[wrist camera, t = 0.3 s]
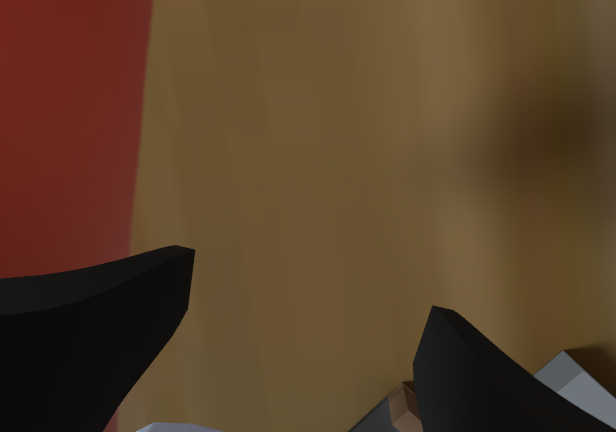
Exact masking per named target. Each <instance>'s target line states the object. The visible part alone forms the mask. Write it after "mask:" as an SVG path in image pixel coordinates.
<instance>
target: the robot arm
mask: <svg viewBox="0 0 616 432" xmlns="http://www.w3.org/2000/svg"><path fill="white" fill-rule="evenodd" d="M194 256H195V250H194V249H190V248H186V247H181V246H177V245H174V246H168V247H163V248H159V249H156V250H152V251H149V252H145V253H142V254H138V255H135V256H131V257H127V258H124V259H120V260H116V261H112V262H108V263H104V264H100V265H96V266H91V267H87V268H82V269H77V270H72V271H65V272H60V273H52V274H45V275H37V276H36V275H35V276H25V277H14V278H2V279H0V432H103V430H104V429H105V427H106V426H107V424H108V422H109V421H110V419H111V417H112V416H113V414H114V413H115V411H116V410H117V408H118V406H119V405H120V404H121V402H122V401H123V399H124V398H125V397H126V395H127V394H128V392H129V391H130V390H131V389H132V387H133V386H134V385H135V383H136V382H137V381H138V380H139V378H140V377H141V376H142V375H143V373H144V372H145V371H146V369H147V368H148V367H149V366H150V364H151V363H152V362H153V360H154V359H155V358H156V357H157V355H158V354H159V353H160V351H161V350H162V349H163V348H164V346H165V345H166V344H167V342H168V341H169V340H170V338H171V337H172V336H173V334H174V333H175V331H176V329H177V327H178V326H179V324H180V322H181V320H182V319H183V317H184V315H185V313H186V311H187V310H188V304H189V296H190V288H191V280H192V272H193V264H194ZM413 373H414V387H415V396H416V401H417V405H418V410H419V415H420V419H421V424H422V428H423V432H616V429H615V428H613V427H611V426H609V425H608V424H606V423H604V422H603V421H601V420H599V419H598V418H596V417H594V416H592V415H591V414H589V413H587V412H586V411H584V410H582V409H581V408H579V407H578V406H576V405H574V404H573V403H571V402H570V401H568V400H567V399H565V398H564V397H562V396H561V395H559V394H558V393H556V392H555V391H554V390H552V389H551V388H549V387H548V386H546V385H545V384H543V383H542V382H541V381H539V380H538V379H537V378H535V377H534V376H533V375H531V374H530V373H529V372H527V371H526V370H525V369H524V368H522V367H521V366H520V365H519V364H517V363H516V362H515V361H513V360H512V359H511V358H510V357H509V356H507V355H506V354H505V353H504V352H503V351H501V350H500V349H499V348H498V347H497V346H496V345H495V344H493V343H492V342H491V341H490V340H489V339H488V338H486V337H485V336H484V335H483V334H482V333H481V332H480V331H479V330H477V329H476V328H475V327H474V326H473V325H472V324H471V323H469V322H468V321H467V320H466V319H465V318H463V317H462V316H461V315H460V314H458V313H457V312H455V311H454V310H450V309H446V308H442V307H437V306H433V305H432V308H431V311H430V314H429V317H428V320H427V323H426V326H425V329H424V332H423V335H422V338H421V341H420V344H419V346H418V349H417V352H416V355H415V358H414V361H413ZM136 432H224V431H220V430H216V429H212V428H208V427H205V426H201V425H197V424H184V423H152V424H150V425H148V426H146V427H144V428H142V429H140V430H138V431H136Z"/></svg>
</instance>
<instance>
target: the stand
mask: <svg viewBox="0 0 616 432" xmlns="http://www.w3.org/2000/svg"><path fill="white" fill-rule="evenodd" d="M533 376H534V377H535V378H537V379H538V380H539V381H541V382H542V383H543V384H545V385H546V386H548V387H549V388H551V389H552V390H554V391H555V392H556V393H558V394H559V395H561V396H562V397H564V398H565V399H567V400H568V401H570V402H571V403H573V404H574V405H576V406H578V407H579V408H581V409H582V410H584V411H586V412H587V413H589V414H591V415H592V416H594V417H596V418H598V419H599V420H601V421H603V422H604V423H606V424H608V425H609V426H611V427H613V428H615V429H616V398H615V397H614V396H613V395H612V394H611V393H610V392H609V391H607V390H606V389H605V388H604V387H603V386H602V385H601V384H600V383H599V382H598V381H596V380H595V379H594V378H593V377H592V376H591V375H590V374H589V373H588V372H586V371H585V370H584V369H583V368H582V367H581V366H580V365H579V364H578V363H576V362H575V361H574V360H573V359H572V358H571V357H570V356H569V355H568V354H567V353H565V352H564V351H562V352H561V353H559V354H558V355H557V356H556V357H555V358H554V359H552V360H551V361H550V362H549V363H548V364H546V365H545V366H544V367H543V368H542V369H540V370H539V371H538V372H537V373H536V374H535V375H533Z"/></svg>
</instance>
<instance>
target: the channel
mask: <svg viewBox="0 0 616 432" xmlns="http://www.w3.org/2000/svg"><path fill="white" fill-rule="evenodd" d="M348 432H423V428H422V424H421V419H420V415H419V410H418V405H417V401H416V396H415V393H414V392H413V391H412V390H410V389H409V388H408V387H407V386H406V385H405V384H404V383H401V384H400V385H399V386H397V387H396V388H395V389H394V390H393V391H392V392H391V393H390V394H389V395H388V396H387V397H385V398H384V399H383V400H382V401H381V402H380V403H379V404H378V405H377V406H376V407H375V408H373V409H372V410H371V411H370V412H369V413H368V414H367V415H366V416H365V417H364V418H363V419H361V420H360V421H359V422H358V423H357V424H356V425H355V426H354V427H353V428H352V429H350V430H349V431H348Z"/></svg>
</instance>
